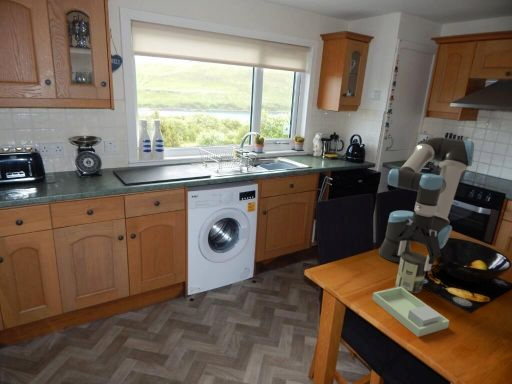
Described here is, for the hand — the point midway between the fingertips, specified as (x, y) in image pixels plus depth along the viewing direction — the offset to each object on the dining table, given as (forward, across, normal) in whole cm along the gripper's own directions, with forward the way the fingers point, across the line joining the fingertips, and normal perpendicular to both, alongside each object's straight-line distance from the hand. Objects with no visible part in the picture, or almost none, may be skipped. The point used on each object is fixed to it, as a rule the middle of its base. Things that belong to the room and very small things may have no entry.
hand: (413, 262), depth 139 cm
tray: (+12, +14, -14) cm, 23 cm away
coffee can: (+12, 0, 0) cm, 12 cm away
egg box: (+11, +20, -14) cm, 27 cm away
